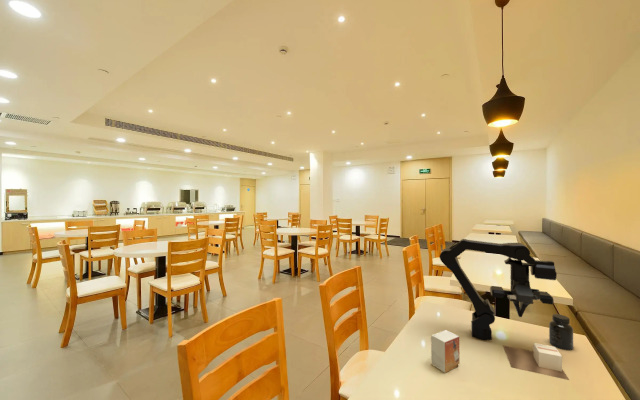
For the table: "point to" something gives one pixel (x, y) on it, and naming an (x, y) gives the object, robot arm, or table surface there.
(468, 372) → the table surface
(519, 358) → the base plate
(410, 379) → the table surface
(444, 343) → the small box
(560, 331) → the supplement bottle
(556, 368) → the white carton
